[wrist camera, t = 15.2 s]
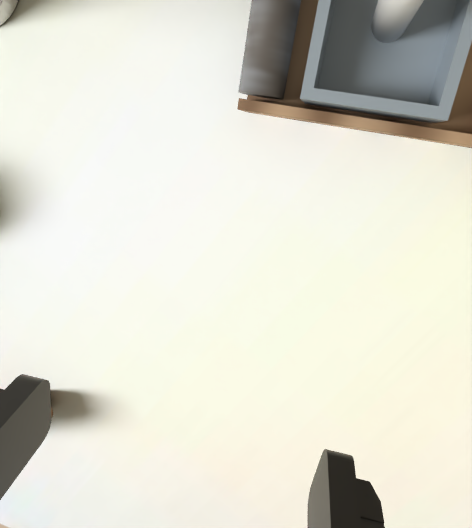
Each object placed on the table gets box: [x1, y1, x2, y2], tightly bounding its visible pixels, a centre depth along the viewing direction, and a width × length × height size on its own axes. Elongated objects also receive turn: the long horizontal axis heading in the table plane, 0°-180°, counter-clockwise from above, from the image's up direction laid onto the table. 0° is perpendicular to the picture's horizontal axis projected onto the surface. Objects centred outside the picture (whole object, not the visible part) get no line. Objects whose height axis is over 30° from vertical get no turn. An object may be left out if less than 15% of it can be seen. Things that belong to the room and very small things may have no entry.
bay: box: [238, 0, 472, 148], centre depth 30 cm, size 26×15×5 cm, turn 81°
